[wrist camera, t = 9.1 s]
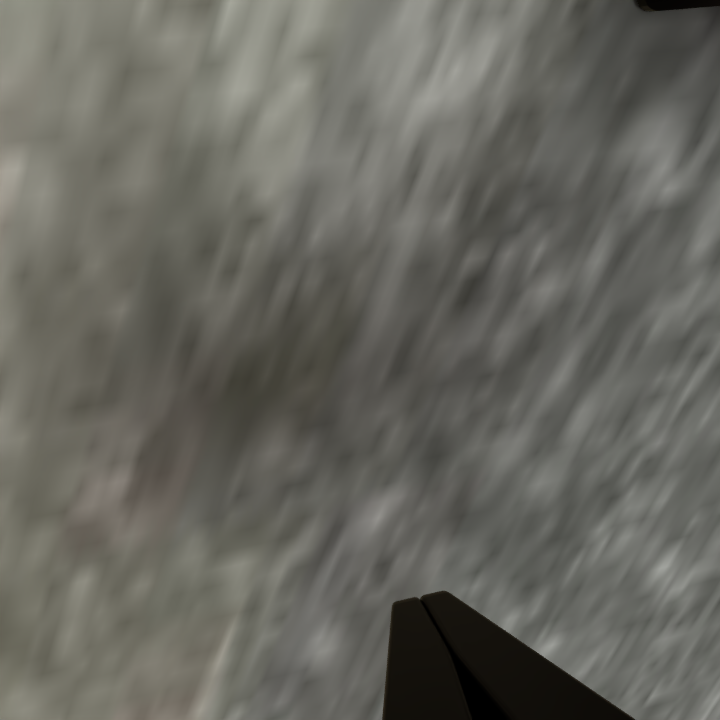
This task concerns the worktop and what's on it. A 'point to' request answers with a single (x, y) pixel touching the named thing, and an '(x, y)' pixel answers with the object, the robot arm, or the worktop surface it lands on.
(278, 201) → the worktop surface
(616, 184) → the worktop surface
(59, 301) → the worktop surface
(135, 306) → the worktop surface
